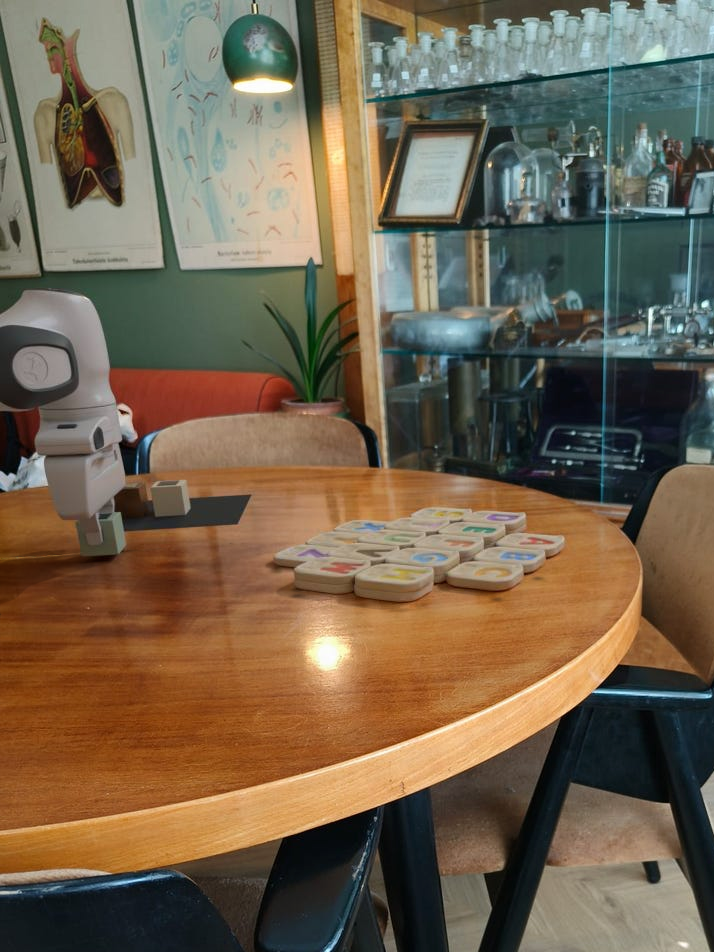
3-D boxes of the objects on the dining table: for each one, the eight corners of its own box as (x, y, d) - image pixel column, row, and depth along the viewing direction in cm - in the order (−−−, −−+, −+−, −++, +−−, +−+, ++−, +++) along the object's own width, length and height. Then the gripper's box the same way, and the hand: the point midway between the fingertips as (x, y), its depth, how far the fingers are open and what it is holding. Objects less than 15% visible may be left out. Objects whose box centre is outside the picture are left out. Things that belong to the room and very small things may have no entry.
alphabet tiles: (380, 514, 132) (379, 498, 131) (586, 534, 118) (587, 516, 118) (231, 579, 104) (228, 559, 103) (478, 614, 91) (477, 592, 90)
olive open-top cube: (81, 556, 113) (75, 521, 111) (91, 547, 117) (84, 513, 115) (118, 554, 113) (112, 519, 111) (126, 545, 117) (120, 511, 116)
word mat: (79, 536, 125) (79, 533, 125) (114, 504, 144) (114, 502, 144) (237, 526, 128) (237, 524, 128) (252, 496, 146) (251, 494, 146)
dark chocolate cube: (112, 519, 133) (107, 489, 131) (120, 512, 137) (114, 483, 135) (143, 517, 133) (138, 487, 131) (150, 510, 137) (144, 481, 136)
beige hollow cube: (155, 516, 133) (150, 486, 132) (161, 510, 138) (156, 480, 136) (185, 515, 134) (181, 485, 132) (190, 508, 138) (186, 479, 136)
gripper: (78, 419, 118) (97, 520, 123) (28, 443, 99) (53, 561, 105) (127, 417, 119) (143, 517, 124) (87, 440, 100) (108, 557, 105)
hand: (102, 537), depth 114 cm, fingers closed on olive open-top cube, 4 cm apart
